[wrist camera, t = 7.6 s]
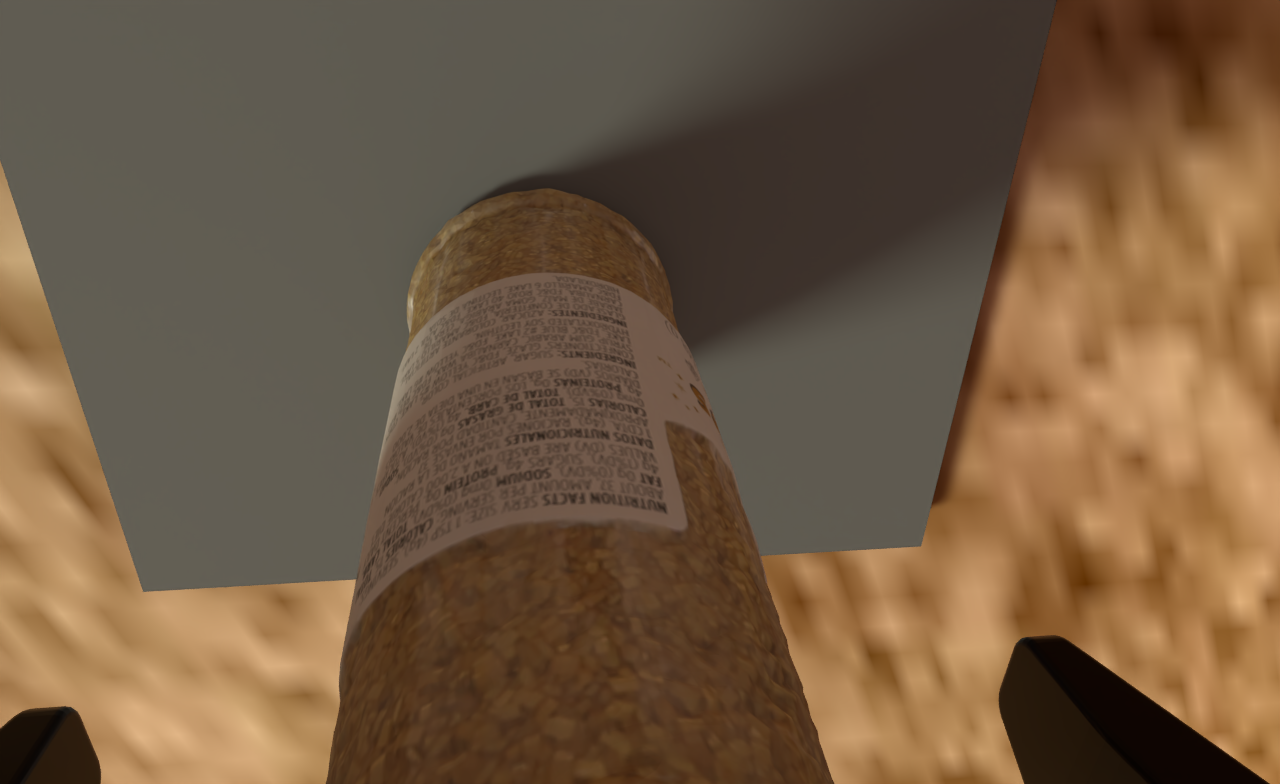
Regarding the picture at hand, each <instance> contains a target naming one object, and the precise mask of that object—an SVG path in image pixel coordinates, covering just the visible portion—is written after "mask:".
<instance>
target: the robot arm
mask: <svg viewBox="0 0 1280 784" xmlns="http://www.w3.org/2000/svg"><path fill="white" fill-rule="evenodd" d="M999 708H1000V713H1001V717H1002V720H1003V723H1004V726H1005V729H1006V732H1007V735H1008V738H1009V741H1010V743H1011V746H1012V749H1013V752H1014V755H1015V758H1016V761H1017V764H1018V767H1019V770H1020V773H1021V776H1022V778H1023V781H1024V784H1269V783H1268V782H1267V781H1265V780H1264V779H1262V778H1261V777H1259V776H1258V775H1257V774H1255V773H1254V772H1252V771H1251V770H1250V769H1248V768H1247V767H1245V766H1244V765H1243V764H1241V763H1240V762H1238V761H1237V760H1236V759H1234V758H1233V757H1231V756H1230V755H1229V754H1227V753H1226V752H1224V751H1223V750H1222V749H1220V748H1219V747H1217V746H1216V745H1215V744H1213V743H1212V742H1210V741H1209V740H1208V739H1206V738H1205V737H1203V736H1202V735H1200V734H1199V733H1198V732H1196V731H1195V730H1193V729H1192V728H1191V727H1189V726H1188V725H1186V724H1185V723H1184V722H1182V721H1181V720H1179V719H1178V718H1177V717H1175V716H1174V715H1172V714H1171V713H1170V712H1168V711H1167V710H1165V709H1164V708H1163V707H1161V706H1160V705H1158V704H1157V703H1156V702H1154V701H1153V700H1151V699H1150V698H1148V697H1147V696H1146V695H1144V694H1143V693H1141V692H1140V691H1139V690H1137V689H1136V688H1134V687H1133V686H1132V685H1130V684H1129V683H1127V682H1126V681H1125V680H1123V679H1122V678H1120V677H1119V676H1118V675H1116V674H1115V673H1113V672H1112V671H1111V670H1109V669H1108V668H1106V667H1105V666H1104V665H1102V664H1101V663H1099V662H1098V661H1097V660H1095V659H1094V658H1092V657H1091V656H1089V655H1088V654H1087V653H1085V652H1084V651H1082V650H1081V649H1080V648H1078V647H1077V646H1075V645H1074V644H1073V643H1071V642H1070V641H1068V640H1067V639H1065V638H1063V637H1060V636H1056V635H1048V636H1034V637H1025V638H1022V639H1020V640H1019V641H1018V642H1017V643H1016V645H1015V647H1014V650H1013V653H1012V655H1011V658H1010V661H1009V664H1008V667H1007V670H1006V673H1005V676H1004V679H1003V682H1002V685H1001V687H1000V691H999ZM100 783H101V769H100V764H99V760H98V758H97V755H96V753H95V751H94V748H93V746H92V743H91V741H90V739H89V736H88V734H87V732H86V729H85V727H84V724H83V722H82V720H81V717H80V715H79V714H78V712H77V711H76V710H74V709H73V708H71V707H66V706H63V707H49V708H35V709H28V710H25V711H22V712H21V713H19V714H17V715H16V716H14V717H13V718H12V719H10V720H9V721H8V722H7V723H6V724H5V725H4V726H2V727H1V728H0V784H100Z"/></svg>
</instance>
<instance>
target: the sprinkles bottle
mask: <svg viewBox="0 0 1280 784" xmlns="http://www.w3.org/2000/svg"><path fill="white" fill-rule="evenodd" d="M407 323H408V328H409V340H408V345H407V348H406V353H405V355H404V357H403V359H402V362H401V364H400V367H399V370H398V373H397V378H396V382H395V386H394V391H393V396H392V401H391V405H390V410H389V415H388V420H387V425H386V430H385V434H384V439H383V444H382V449H381V453H380V458H379V463H378V468H377V473H376V479H375V484H374V489H373V494H372V499H371V504H370V509H369V514H368V519H367V524H366V530H365V535H364V540H363V546H362V551H361V557H360V562H359V568H358V573H357V579H356V584H355V589H354V595H353V600H352V605H351V610H350V616H349V621H348V626H347V631H346V636H345V641H344V647H343V652H342V658H341V663H340V675H339V692H340V707H339V713H338V718H337V723H336V727H335V731H334V735H333V741H332V747H331V754H330V762H329V771H328V777H327V781H326V784H834V782H833V780H832V778H831V775H830V772H829V769H828V766H827V763H826V760H825V757H824V754H823V751H822V748H821V745H820V742H819V737H818V731H817V729H816V727H815V725H814V723H813V721H812V719H811V716H810V712H809V708H808V703H807V701H806V698H805V696H804V693H803V686H802V683H801V681H800V679H799V676H798V674H797V671H796V669H795V666H794V664H793V661H792V659H791V656H790V654H789V649H788V644H787V639H786V637H785V634H784V632H783V630H782V627H781V625H780V620H779V615H778V613H777V610H776V608H775V605H774V603H773V600H772V596H771V593H770V591H769V588H768V586H767V580H766V575H765V571H764V567H763V563H762V559H761V556H760V552H759V548H758V544H757V540H756V538H755V535H754V532H753V530H752V527H751V524H750V522H749V519H748V517H747V515H746V513H745V511H744V508H743V504H742V500H741V497H740V493H739V489H738V485H737V481H736V478H735V474H734V471H733V468H732V465H731V462H730V459H729V457H728V454H727V451H726V449H725V446H724V443H723V440H722V438H721V435H720V432H719V429H718V426H717V423H716V420H715V417H714V414H713V411H712V408H711V405H710V402H709V400H708V397H707V394H706V392H705V389H704V386H703V383H702V381H701V378H700V375H699V372H698V369H697V366H696V363H695V361H694V359H693V356H692V354H691V352H690V350H689V348H688V346H687V345H686V343H685V341H684V340H683V338H682V337H681V335H680V333H679V331H678V329H677V324H676V321H675V317H674V314H673V300H672V296H671V291H670V285H669V282H668V279H667V276H666V273H665V270H664V268H663V266H662V264H661V261H660V259H659V257H658V255H657V253H656V251H655V249H654V248H653V246H652V244H651V243H650V242H649V241H648V240H647V239H646V238H645V237H644V236H643V235H642V233H641V232H640V231H639V230H638V229H637V228H636V227H635V226H634V225H633V224H632V223H631V222H629V221H628V220H627V219H626V218H625V217H623V216H622V215H620V214H618V213H616V212H614V211H612V210H610V209H609V208H607V207H605V206H604V205H602V204H601V203H598V202H596V201H593V200H590V199H587V198H583V197H581V196H579V195H577V194H569V193H566V192H563V191H560V190H555V189H550V188H545V189H536V190H530V191H521V192H511V193H506V194H503V195H499V196H496V197H492V198H489V199H486V200H483V201H480V202H478V203H476V204H475V205H473V206H471V207H469V208H468V209H466V210H465V211H463V212H462V213H460V214H459V215H457V216H455V217H453V218H452V219H450V220H448V221H447V222H446V224H445V225H444V227H443V228H442V229H441V230H440V231H439V232H438V234H437V235H436V236H435V237H434V238H433V239H432V240H431V241H430V243H429V244H428V246H427V247H426V249H425V250H424V252H423V253H422V255H421V257H420V259H419V261H418V263H417V265H416V267H415V270H414V272H413V275H412V278H411V282H410V287H409V291H408V298H407Z"/></svg>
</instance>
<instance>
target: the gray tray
mask: <svg viewBox="0 0 1280 784" xmlns="http://www.w3.org/2000/svg"><path fill="white" fill-rule="evenodd" d="M1056 1H1057V0H0V161H1V164H2V167H3V170H4V173H5V176H6V179H7V182H8V185H9V188H10V191H11V194H12V197H13V200H14V203H15V206H16V209H17V212H18V215H19V218H20V221H21V224H22V227H23V230H24V233H25V236H26V239H27V242H28V245H29V248H30V251H31V254H32V257H33V260H34V263H35V266H36V269H37V272H38V275H39V278H40V281H41V284H42V287H43V290H44V293H45V296H46V300H47V303H48V306H49V309H50V312H51V315H52V318H53V321H54V324H55V327H56V330H57V333H58V336H59V339H60V342H61V345H62V348H63V351H64V354H65V357H66V360H67V363H68V366H69V369H70V372H71V375H72V378H73V381H74V384H75V387H76V390H77V393H78V396H79V399H80V402H81V405H82V408H83V411H84V414H85V417H86V420H87V423H88V426H89V429H90V432H91V435H92V438H93V441H94V444H95V447H96V450H97V453H98V456H99V460H100V463H101V466H102V469H103V472H104V475H105V478H106V481H107V484H108V487H109V490H110V493H111V496H112V499H113V502H114V505H115V508H116V511H117V514H118V517H119V520H120V523H121V526H122V529H123V532H124V535H125V538H126V541H127V544H128V547H129V550H130V553H131V556H132V559H133V562H134V565H135V568H136V571H137V574H138V577H139V580H140V583H141V586H142V589H143V592H147V591H164V590H181V589H199V588H216V587H233V586H250V585H267V584H284V583H301V582H318V581H336V580H353V579H357V573H358V568H359V562H360V557H361V551H362V546H363V540H364V535H365V530H366V524H367V519H368V514H369V509H370V504H371V499H372V494H373V489H374V484H375V479H376V473H377V468H378V463H379V458H380V453H381V449H382V444H383V439H384V434H385V430H386V425H387V420H388V415H389V410H390V405H391V401H392V396H393V391H394V386H395V382H396V378H397V373H398V370H399V367H400V364H401V362H402V359H403V357H404V355H405V353H406V348H407V345H408V340H409V328H408V323H407V298H408V291H409V287H410V282H411V278H412V275H413V272H414V270H415V267H416V265H417V263H418V261H419V259H420V257H421V255H422V253H423V252H424V250H425V249H426V247H427V246H428V244H429V243H430V241H431V240H432V239H433V238H434V237H435V236H436V235H437V234H438V232H439V231H440V230H441V229H442V228H443V227H444V225H445V224H446V222H447V221H448V220H450V219H452V218H453V217H455V216H457V215H459V214H460V213H462V212H463V211H465V210H466V209H468V208H469V207H471V206H473V205H475V204H476V203H478V202H480V201H483V200H486V199H489V198H492V197H496V196H499V195H503V194H506V193H511V192H521V191H530V190H536V189H545V188H550V189H555V190H560V191H563V192H566V193H569V194H577V195H579V196H581V197H583V198H587V199H590V200H593V201H596V202H598V203H601V204H602V205H604V206H605V207H607V208H609V209H610V210H612V211H614V212H616V213H618V214H620V215H622V216H623V217H625V218H626V219H627V220H628V221H629V222H631V223H632V224H633V225H634V226H635V227H636V228H637V229H638V230H639V231H640V232H641V233H642V235H643V236H644V237H645V238H646V239H647V240H648V241H649V242H650V243H651V244H652V246H653V248H654V249H655V251H656V253H657V255H658V257H659V259H660V261H661V264H662V266H663V268H664V270H665V273H666V276H667V279H668V282H669V285H670V291H671V296H672V300H673V314H674V317H675V321H676V324H677V329H678V331H679V333H680V335H681V337H682V338H683V340H684V341H685V343H686V345H687V346H688V348H689V350H690V352H691V354H692V356H693V359H694V361H695V363H696V366H697V369H698V372H699V375H700V378H701V381H702V383H703V386H704V389H705V392H706V394H707V397H708V400H709V402H710V405H711V408H712V411H713V414H714V417H715V420H716V423H717V426H718V429H719V432H720V435H721V438H722V440H723V443H724V446H725V449H726V451H727V454H728V457H729V459H730V462H731V465H732V468H733V471H734V474H735V478H736V481H737V485H738V489H739V493H740V497H741V500H742V504H743V508H744V511H745V513H746V515H747V517H748V519H749V522H750V524H751V527H752V530H753V532H754V535H755V538H756V540H757V544H758V548H759V552H760V556H764V555H781V554H798V553H815V552H832V551H850V550H867V549H884V548H901V547H918V546H921V544H922V540H923V536H924V532H925V528H926V524H927V520H928V516H929V512H930V508H931V504H932V500H933V496H934V492H935V488H936V484H937V480H938V476H939V472H940V468H941V464H942V460H943V456H944V452H945V448H946V444H947V440H948V436H949V432H950V428H951V424H952V420H953V416H954V412H955V408H956V404H957V400H958V396H959V392H960V388H961V384H962V379H963V375H964V371H965V367H966V363H967V359H968V355H969V351H970V347H971V343H972V339H973V335H974V331H975V327H976V323H977V319H978V315H979V311H980V307H981V303H982V299H983V295H984V291H985V287H986V283H987V279H988V275H989V271H990V267H991V263H992V259H993V255H994V251H995V247H996V243H997V239H998V235H999V231H1000V227H1001V223H1002V219H1003V215H1004V211H1005V206H1006V202H1007V198H1008V194H1009V190H1010V186H1011V182H1012V178H1013V174H1014V170H1015V166H1016V162H1017V158H1018V154H1019V150H1020V146H1021V142H1022V138H1023V134H1024V130H1025V126H1026V122H1027V118H1028V114H1029V110H1030V106H1031V102H1032V98H1033V94H1034V90H1035V86H1036V82H1037V78H1038V74H1039V70H1040V66H1041V62H1042V58H1043V54H1044V50H1045V46H1046V42H1047V37H1048V33H1049V29H1050V25H1051V21H1052V17H1053V13H1054V9H1055V5H1056Z"/></svg>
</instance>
